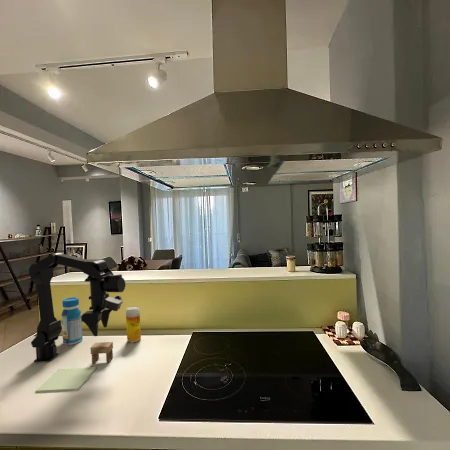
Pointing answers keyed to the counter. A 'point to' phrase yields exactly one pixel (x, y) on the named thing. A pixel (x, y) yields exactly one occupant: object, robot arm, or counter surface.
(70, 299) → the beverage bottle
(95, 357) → the walnut stool
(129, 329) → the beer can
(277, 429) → the counter surface
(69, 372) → the sage board
